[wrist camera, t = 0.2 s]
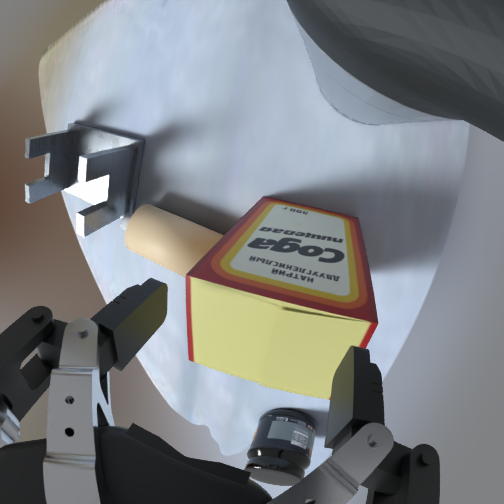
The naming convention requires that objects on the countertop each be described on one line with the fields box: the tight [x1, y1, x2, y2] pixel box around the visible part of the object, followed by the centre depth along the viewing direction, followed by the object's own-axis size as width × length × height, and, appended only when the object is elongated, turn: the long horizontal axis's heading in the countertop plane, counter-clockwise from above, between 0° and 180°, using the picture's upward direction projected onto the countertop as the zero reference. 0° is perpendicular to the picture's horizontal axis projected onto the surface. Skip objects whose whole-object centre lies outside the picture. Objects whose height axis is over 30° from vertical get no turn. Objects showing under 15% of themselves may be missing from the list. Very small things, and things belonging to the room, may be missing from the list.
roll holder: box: [25, 123, 145, 237], centre depth 27 cm, size 10×14×8 cm
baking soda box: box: [186, 197, 378, 400], centre depth 20 cm, size 10×6×16 cm
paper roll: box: [120, 204, 224, 277], centre depth 29 cm, size 14×6×6 cm, turn 72°
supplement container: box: [244, 409, 317, 486], centre depth 37 cm, size 10×10×12 cm
